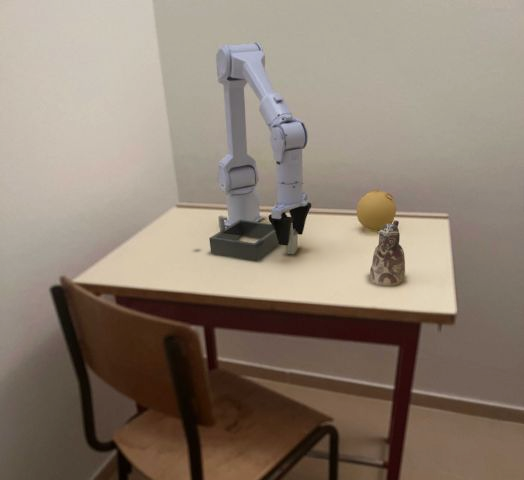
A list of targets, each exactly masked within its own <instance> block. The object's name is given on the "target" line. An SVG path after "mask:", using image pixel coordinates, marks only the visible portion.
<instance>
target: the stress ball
mask: <svg viewBox="0 0 524 480" xmlns="http://www.w3.org/2000/svg"><path fill="white" fill-rule="evenodd" d="M396 213H397V205H396V202H395V200H394V197H393V195H391V193H388V192H385V191H383V190H380V189H374V190H372V191H370V192H368V193H365V194H363V195H362V197H361V198H360V200H359V202H358V204H357V207H356V216H357V219H358V222H359V223H360V225H361V226H362V227H364V228H365V229H367V230H369V231H380V230H381V229H382V227H383V226H384V225H386V224H393V222H394V221H395V216H396Z"/></svg>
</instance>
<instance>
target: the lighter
mask: <svg viewBox="0 0 524 480" xmlns="http://www.w3.org/2000/svg"><path fill="white" fill-rule="evenodd" d="M298 249H299V234H298V232H295V229H293V228H292V224H291V228H290V236H289V243H288V245H287V246H286V254H287V255H294V254H295V253H296V252H297V251H298Z"/></svg>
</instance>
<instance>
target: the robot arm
mask: <svg viewBox="0 0 524 480" xmlns="http://www.w3.org/2000/svg"><path fill="white" fill-rule="evenodd" d="M215 64H216V77H217V82H218V84H221V85H222V87H223V101H224V114H225V115H224V116H225V127H226V128H225V130H226V145H227V153H226V154H225V155H224V156H223V157H222V158H221V159H220V160H219V162H218V169H217V170H218V171H217V183H218V186H219V188H220V190H221V191H222V192H223V193H225V199H226V209H227V218H228V219H227V220H225V221H224V224H225V227H228V226H230V225H232V224H233V223H235V222H237V221H239V220H246V221H254V222H260V221H261V220H262V219H263V218H264V217H263V216H261V213H260V212H261V210H260V197H259V193H258V191H257V190H256V189H255V188H256V187H257V186H258V183H259V171H258V167H257V160H256V159H255V158H254V157H253V156H251V155H250V154H248V146H247V144H248V143H247V123H246V120H247V119H246V104H245V102H246V101H245V100H246V99H245V87H246V85H247V84H248V85H249V86H250V88H251V90H252V91H253V93H254V94H255V96H256V98H257V99H258V100H259V102H260V103H259V107H258V111H259V112H260V115H261V117H262V119H263V121H264V123H265V124H266V126H267V128H268V130H269V133H270V136H269V142H270V146H271V149H272V153H273V155H272V156H273V159H274V161H275V168H276V169H275V170H276V191H277V192H276V193H277V199H276V201H275V204H274V206H273V208H272V209H271V210H270V211H271V213H270V214H269V215H268V216H267V217H268V219H267V220H268V222H269V224H272V226H273V228H274V230H275V233H276V236H277V239H278V243H279V245H278V246H283V247H284V246H285V247H287V245H288V243H289V236H290V228H291V224H292V229H295V232H298V236H299V235H300V236H301V235H303V233H304V229H305V225H306V221H307V218H308V215H309V212H310V210H311V208H312V203H311V202H308V191H303V188H304V186H303V183H304V182H303V178H304V177H303V150H304V149H305V148H306V147H307V144H308V141H309V135H308V130H307V127H306V124H305V122H304V121H303V120H301V119H298V117H296V116H295V117H294V115H293V113H292V112H291V110H290V107H289V106H288V104H287V102H286V100H285V99H284V97H283V96H282V94H280V93H278V92H277V93H276V92H275V90H274V88H273V86H272V83H271V80H270V79H269V76H268V73H267V71H266V54H265V51H264V48H263V47H262V45H261V44H260V43H259V42H257V41H256V42H253V43H242V44H231V45H230V44H229V45H228V44H227V45H225V44H221V45H220V46H219V47H218V50H217V53H216V55H215ZM287 212H289V215H290V216H288V214H287Z"/></svg>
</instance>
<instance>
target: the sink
mask: <svg viewBox="0 0 524 480" xmlns="http://www.w3.org/2000/svg"><path fill="white" fill-rule="evenodd" d="M217 218H218V228H219V229H218V230H219V232H217V233H215V234H213V235H212V236H211V237H209V238H208V239H209V248H210V249H209V250H210V254H213V255H216V256H224V257H230V258H234V259H242V260H248V261H253V262H258V261H259V260H260V259H262V258H263V257H265V256H266V255H267V254H269V253H270V252H271V251H273V250H274V249H275V248H277V247H278V246H280V245H279V243H278V239H277V236H276V233H275V230H274V228H273V226H272V224H271V223H270V222H269V223H268V222H261V221H258V222H254V221H246V220H239V221H237V222H235V223H233V224H232V225H230V226H225V224H224V222H225V221H228V216H224V215H218V217H217ZM241 237H247V238H254V239H258V240H257V241H255V242H249V241H243V240H238V239H240V238H241Z"/></svg>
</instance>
